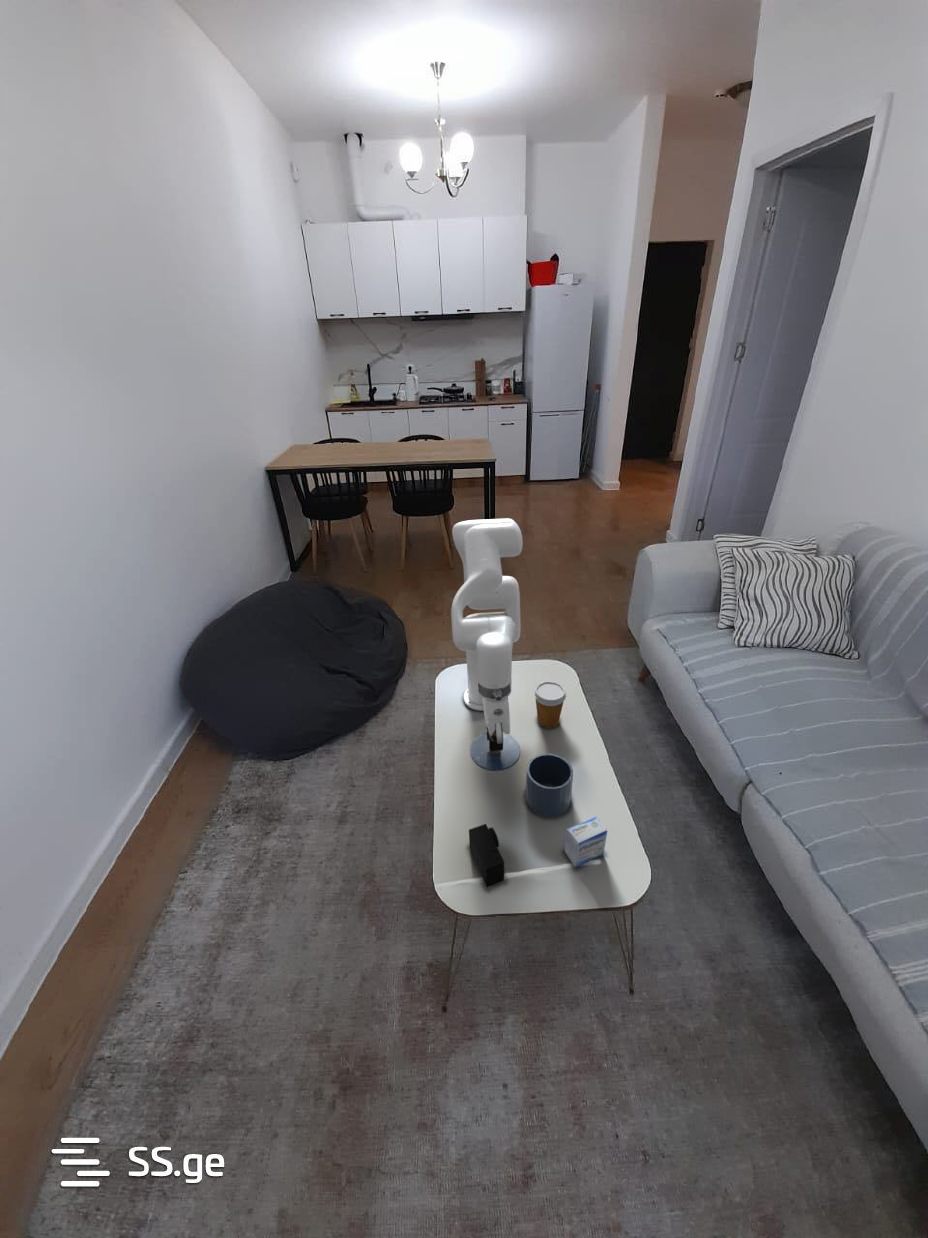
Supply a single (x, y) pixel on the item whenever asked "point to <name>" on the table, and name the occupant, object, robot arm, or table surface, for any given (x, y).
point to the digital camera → (487, 854)
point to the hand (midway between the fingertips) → (495, 743)
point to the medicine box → (585, 841)
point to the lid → (494, 753)
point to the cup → (549, 798)
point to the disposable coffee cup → (549, 703)
